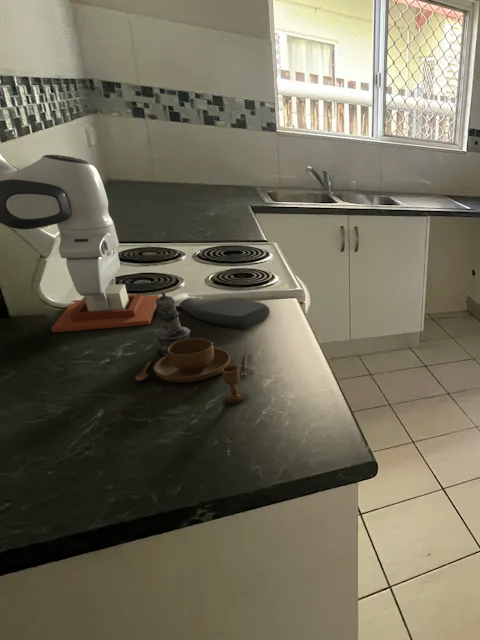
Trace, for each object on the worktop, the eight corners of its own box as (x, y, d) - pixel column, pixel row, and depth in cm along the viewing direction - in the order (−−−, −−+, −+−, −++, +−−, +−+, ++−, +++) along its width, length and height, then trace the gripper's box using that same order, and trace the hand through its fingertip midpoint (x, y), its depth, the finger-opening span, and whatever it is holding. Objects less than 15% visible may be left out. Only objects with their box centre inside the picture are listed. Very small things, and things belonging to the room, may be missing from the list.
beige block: (89, 314, 101) (83, 295, 99) (96, 304, 106) (90, 285, 104) (124, 312, 103) (119, 292, 102) (129, 302, 108) (124, 283, 106)
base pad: (52, 332, 95) (48, 321, 94) (74, 304, 108) (71, 294, 107) (149, 324, 102) (146, 313, 101) (159, 299, 115) (157, 289, 114)
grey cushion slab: (239, 331, 103) (152, 311, 109) (275, 315, 113) (193, 297, 118) (237, 319, 102) (149, 299, 108) (273, 303, 111) (191, 286, 117)
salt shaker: (162, 343, 95) (148, 287, 90) (196, 341, 97) (184, 286, 92) (153, 356, 90) (139, 298, 85) (189, 354, 92) (177, 296, 87)
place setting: (250, 350, 96) (246, 323, 94) (248, 401, 80) (243, 371, 78) (145, 360, 89) (137, 331, 86) (119, 419, 73) (109, 386, 70)
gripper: (84, 227, 105) (100, 286, 111) (55, 252, 89) (76, 320, 94) (119, 227, 108) (134, 284, 113) (98, 251, 91) (116, 317, 97)
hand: (107, 301), depth 104 cm, fingers closed on beige block, 6 cm apart
